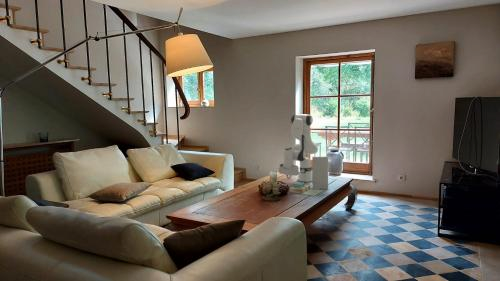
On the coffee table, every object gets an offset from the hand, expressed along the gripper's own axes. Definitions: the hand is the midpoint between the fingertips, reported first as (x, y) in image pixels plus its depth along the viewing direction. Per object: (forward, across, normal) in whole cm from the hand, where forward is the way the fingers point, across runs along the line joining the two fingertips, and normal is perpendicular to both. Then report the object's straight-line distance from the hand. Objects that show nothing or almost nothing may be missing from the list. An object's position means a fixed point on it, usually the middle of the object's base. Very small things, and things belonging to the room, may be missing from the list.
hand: (288, 179), depth 329 cm
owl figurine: (+11, -4, +37) cm, 39 cm away
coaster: (+6, -11, -1) cm, 12 cm away
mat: (+10, -25, -1) cm, 27 cm away
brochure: (+10, -24, -19) cm, 32 cm away
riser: (+10, -12, -1) cm, 15 cm away
